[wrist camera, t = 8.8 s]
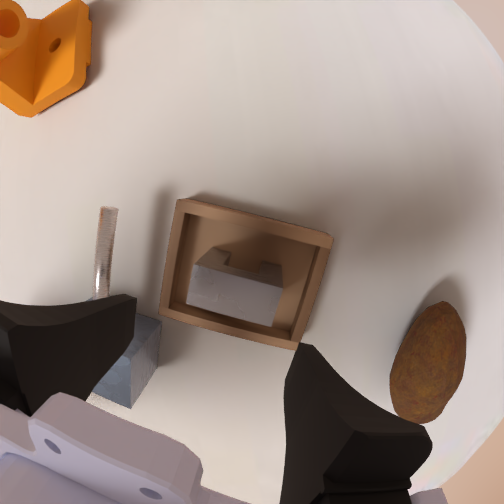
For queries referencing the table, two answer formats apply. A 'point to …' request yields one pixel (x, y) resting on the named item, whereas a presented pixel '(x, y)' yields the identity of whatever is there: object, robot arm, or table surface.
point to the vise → (145, 332)
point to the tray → (244, 268)
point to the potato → (428, 364)
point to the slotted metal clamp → (235, 288)
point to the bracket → (42, 55)
